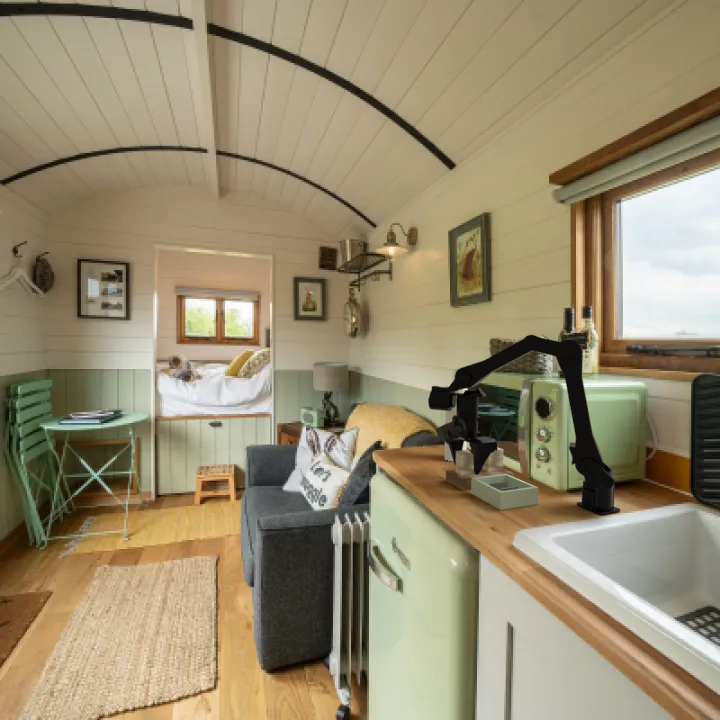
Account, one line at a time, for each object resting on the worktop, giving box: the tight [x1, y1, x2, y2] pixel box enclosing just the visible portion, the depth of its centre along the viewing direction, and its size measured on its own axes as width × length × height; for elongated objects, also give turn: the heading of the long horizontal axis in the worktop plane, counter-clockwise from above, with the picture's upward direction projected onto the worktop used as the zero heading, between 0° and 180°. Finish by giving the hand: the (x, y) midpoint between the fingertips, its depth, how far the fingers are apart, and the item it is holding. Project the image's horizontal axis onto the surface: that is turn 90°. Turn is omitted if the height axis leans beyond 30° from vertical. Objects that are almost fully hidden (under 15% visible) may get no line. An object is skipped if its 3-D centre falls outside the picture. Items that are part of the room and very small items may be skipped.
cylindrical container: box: [443, 384, 469, 463], centre depth 131 cm, size 7×7×25 cm
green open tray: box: [470, 474, 539, 511], centre depth 96 cm, size 11×11×4 cm
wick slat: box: [483, 447, 504, 473], centre depth 110 cm, size 5×2×9 cm, turn 110°
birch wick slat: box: [455, 449, 474, 476], centre depth 106 cm, size 5×2×9 cm, turn 110°
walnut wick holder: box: [445, 467, 515, 491], centre depth 108 cm, size 17×8×3 cm, turn 110°
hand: (466, 469), depth 106 cm, fingers open, 9 cm apart
